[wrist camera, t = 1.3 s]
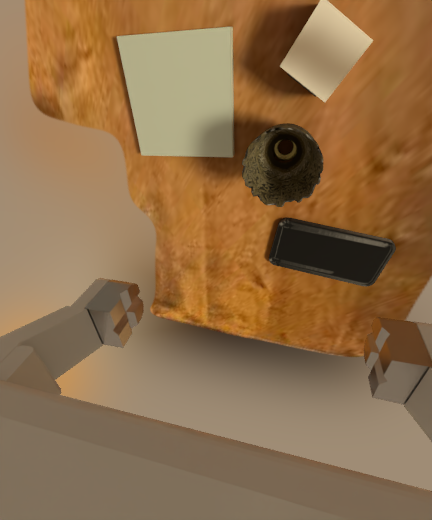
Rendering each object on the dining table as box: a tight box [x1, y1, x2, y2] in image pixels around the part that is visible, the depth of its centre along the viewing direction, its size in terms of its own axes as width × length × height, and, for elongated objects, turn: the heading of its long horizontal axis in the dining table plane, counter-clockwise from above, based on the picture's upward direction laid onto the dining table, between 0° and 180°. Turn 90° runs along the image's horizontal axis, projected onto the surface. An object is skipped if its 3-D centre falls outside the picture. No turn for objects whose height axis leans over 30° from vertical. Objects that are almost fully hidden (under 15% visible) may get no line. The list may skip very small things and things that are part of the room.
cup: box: [242, 124, 323, 207], centre depth 29 cm, size 8×7×8 cm
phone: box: [269, 218, 396, 286], centre depth 39 cm, size 8×1×15 cm
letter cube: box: [280, 0, 373, 102], centre depth 25 cm, size 5×5×5 cm
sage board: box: [117, 27, 234, 157], centre depth 31 cm, size 12×12×1 cm
